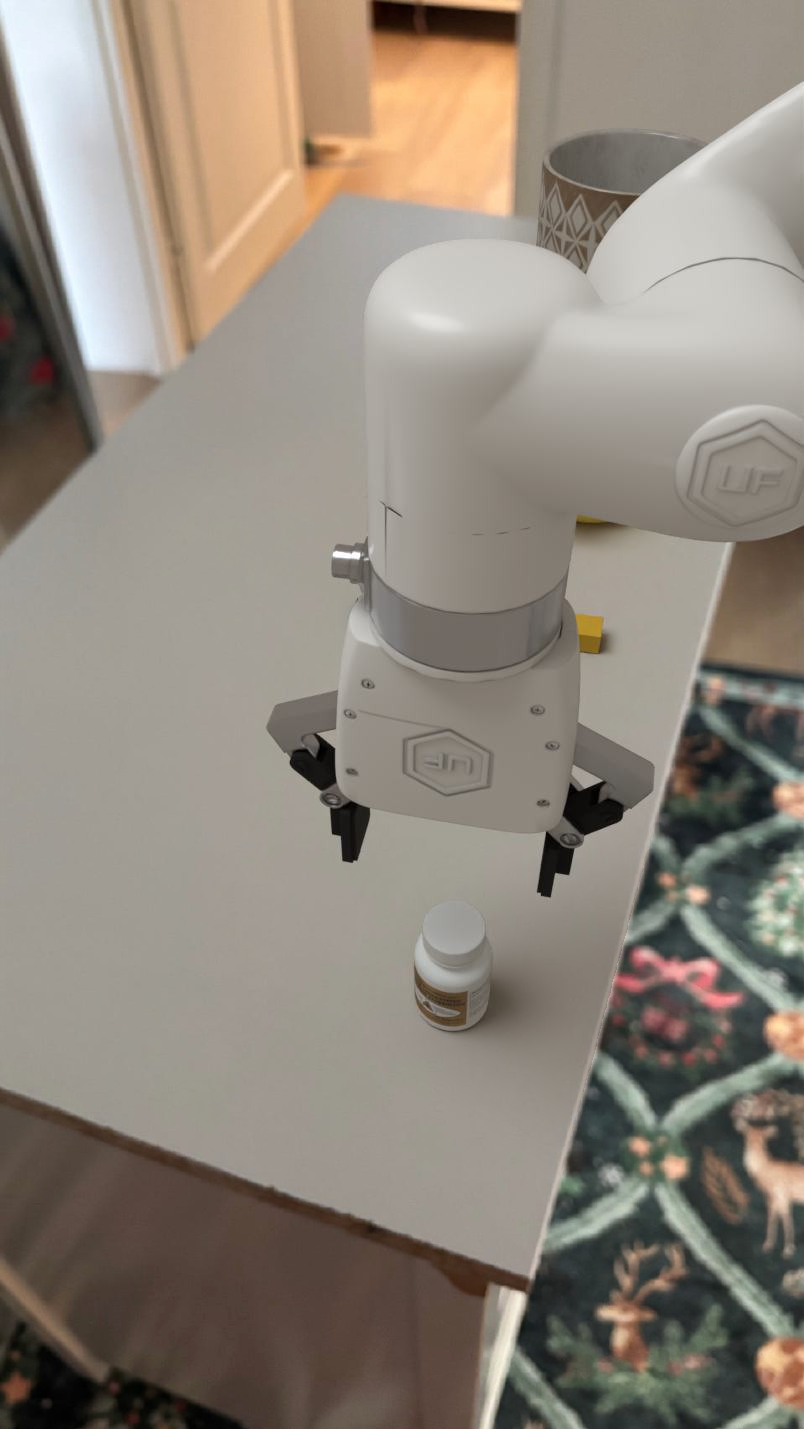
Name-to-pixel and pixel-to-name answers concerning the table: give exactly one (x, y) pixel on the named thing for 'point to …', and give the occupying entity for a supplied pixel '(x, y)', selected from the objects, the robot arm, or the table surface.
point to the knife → (588, 632)
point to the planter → (600, 184)
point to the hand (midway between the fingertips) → (450, 856)
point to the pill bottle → (452, 967)
